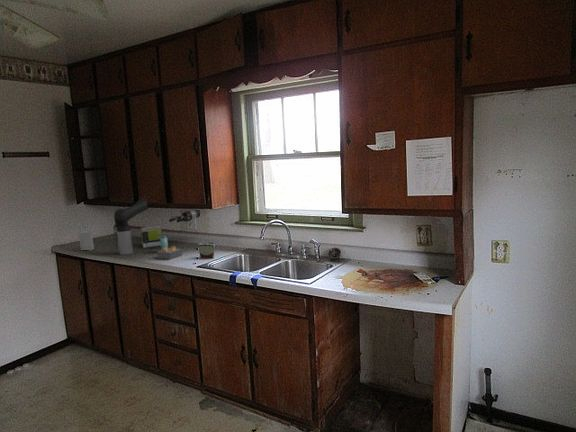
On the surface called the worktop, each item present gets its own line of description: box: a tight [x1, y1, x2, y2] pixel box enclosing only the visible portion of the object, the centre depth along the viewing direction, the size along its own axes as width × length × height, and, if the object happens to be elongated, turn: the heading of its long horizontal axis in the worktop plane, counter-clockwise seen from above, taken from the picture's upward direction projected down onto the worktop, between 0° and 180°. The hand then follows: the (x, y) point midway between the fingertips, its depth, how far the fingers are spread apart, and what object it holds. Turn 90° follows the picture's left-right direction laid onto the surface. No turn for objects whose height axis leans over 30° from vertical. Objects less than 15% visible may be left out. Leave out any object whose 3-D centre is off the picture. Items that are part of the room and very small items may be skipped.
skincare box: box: [77, 230, 95, 251], centre depth 309 cm, size 8×6×15 cm
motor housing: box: [156, 245, 183, 261], centre depth 273 cm, size 11×12×6 cm
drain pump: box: [160, 235, 169, 251], centre depth 288 cm, size 5×5×12 cm
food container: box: [197, 241, 216, 260], centre depth 266 cm, size 12×6×10 cm, turn 74°
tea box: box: [140, 225, 163, 248], centre depth 315 cm, size 15×10×15 cm, turn 115°
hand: (173, 221), depth 292 cm, fingers open, 8 cm apart
